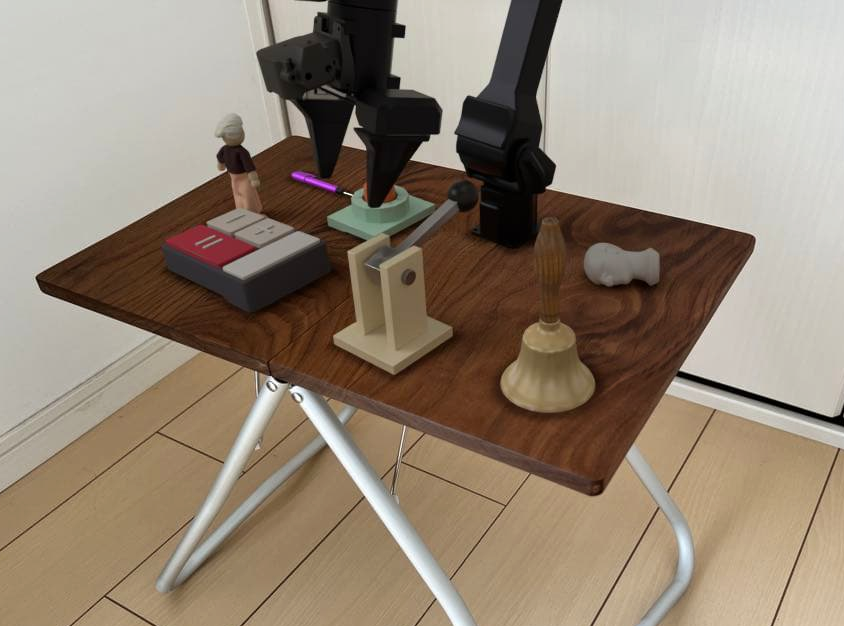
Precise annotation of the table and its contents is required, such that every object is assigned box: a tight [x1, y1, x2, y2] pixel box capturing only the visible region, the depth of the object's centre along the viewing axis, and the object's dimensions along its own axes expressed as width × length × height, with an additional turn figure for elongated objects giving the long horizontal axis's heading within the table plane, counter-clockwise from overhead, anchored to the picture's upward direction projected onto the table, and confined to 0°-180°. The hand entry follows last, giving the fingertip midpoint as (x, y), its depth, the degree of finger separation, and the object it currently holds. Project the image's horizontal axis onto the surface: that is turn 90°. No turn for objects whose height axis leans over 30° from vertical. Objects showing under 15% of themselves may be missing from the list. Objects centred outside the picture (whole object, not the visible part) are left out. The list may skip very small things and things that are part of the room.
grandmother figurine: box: [213, 112, 269, 219], centre depth 100 cm, size 8×4×13 cm, turn 58°
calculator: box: [161, 208, 332, 314], centre depth 93 cm, size 11×4×15 cm
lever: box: [364, 179, 480, 288], centre depth 80 cm, size 14×3×3 cm, turn 139°
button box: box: [326, 184, 436, 241], centre depth 102 cm, size 10×8×3 cm
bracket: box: [332, 233, 454, 376], centre depth 80 cm, size 8×8×10 cm
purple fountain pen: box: [291, 170, 353, 197], centre depth 110 cm, size 3×1×16 cm
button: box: [362, 181, 396, 204], centre depth 101 cm, size 4×4×2 cm
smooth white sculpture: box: [583, 242, 661, 288], centre depth 89 cm, size 4×8×5 cm
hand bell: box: [500, 216, 596, 414], centre depth 72 cm, size 8×8×16 cm
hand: (348, 192), depth 79 cm, fingers open, 9 cm apart
